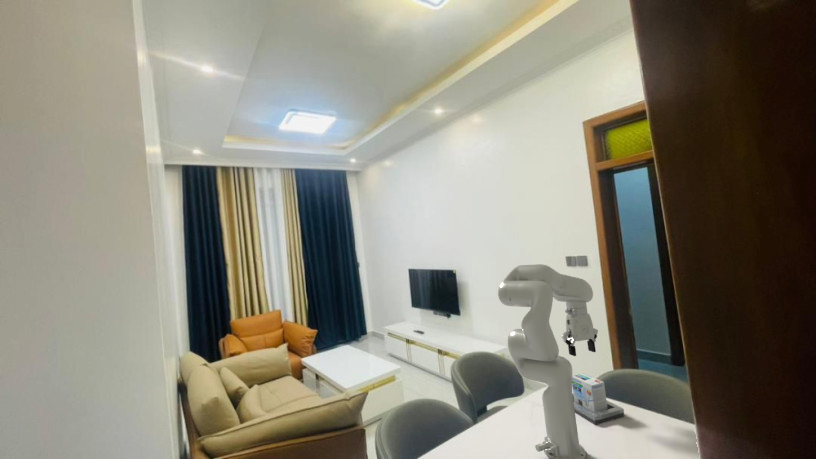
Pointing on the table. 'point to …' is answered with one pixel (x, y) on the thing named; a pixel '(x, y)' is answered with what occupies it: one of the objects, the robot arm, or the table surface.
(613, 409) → the gray rectangular frame
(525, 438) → the table surface
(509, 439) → the table surface
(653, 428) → the table surface
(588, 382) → the light bulb box
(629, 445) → the table surface
